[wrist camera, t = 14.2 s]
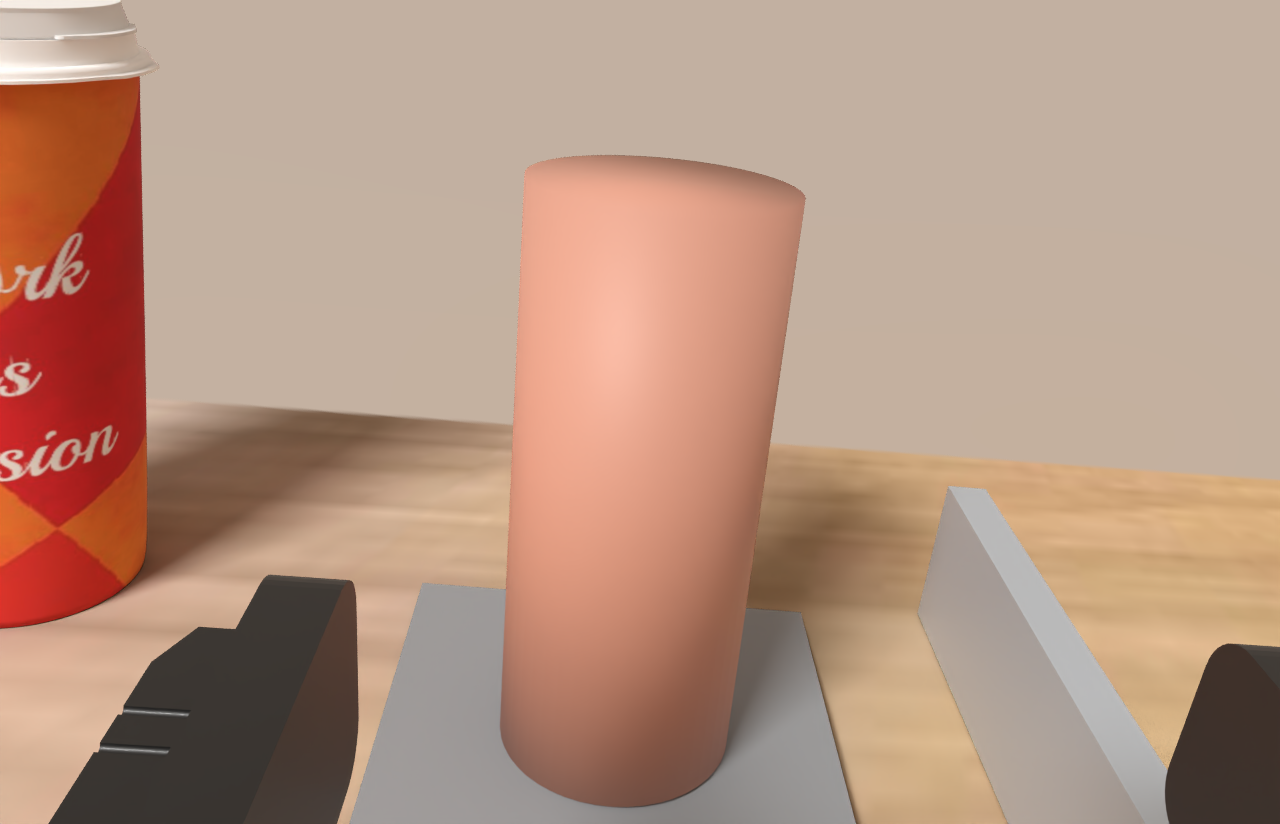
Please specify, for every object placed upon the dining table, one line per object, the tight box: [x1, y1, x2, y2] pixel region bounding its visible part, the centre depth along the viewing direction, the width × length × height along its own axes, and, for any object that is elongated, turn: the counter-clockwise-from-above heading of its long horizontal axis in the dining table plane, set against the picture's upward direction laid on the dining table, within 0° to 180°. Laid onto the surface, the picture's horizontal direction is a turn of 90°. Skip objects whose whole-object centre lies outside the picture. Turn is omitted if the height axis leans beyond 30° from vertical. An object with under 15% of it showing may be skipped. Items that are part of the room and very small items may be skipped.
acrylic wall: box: [918, 486, 1169, 824], centre depth 24 cm, size 1×12×4 cm, turn 0°
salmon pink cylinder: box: [500, 155, 806, 807], centre depth 22 cm, size 5×5×12 cm
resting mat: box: [349, 583, 856, 824], centre depth 24 cm, size 10×10×1 cm
